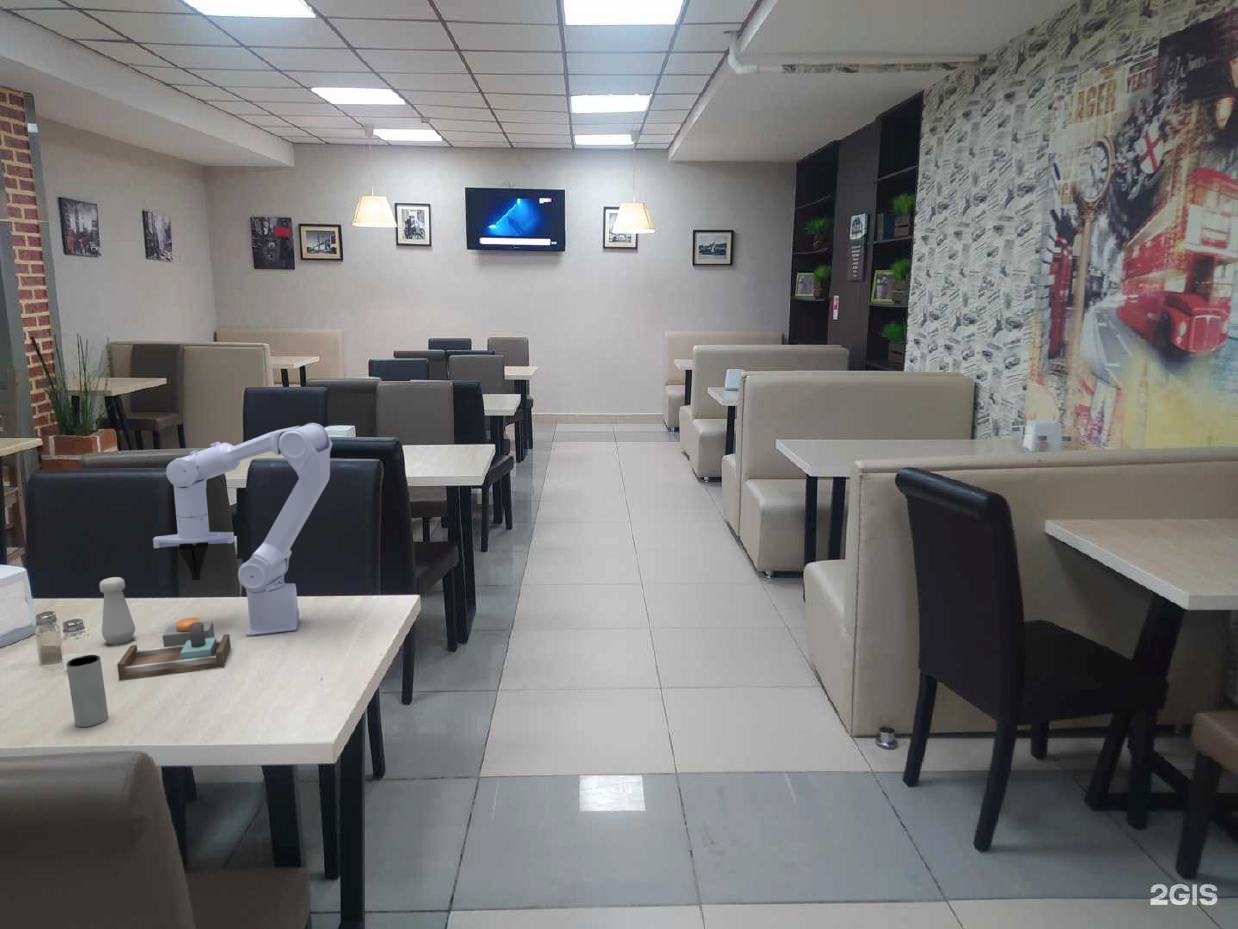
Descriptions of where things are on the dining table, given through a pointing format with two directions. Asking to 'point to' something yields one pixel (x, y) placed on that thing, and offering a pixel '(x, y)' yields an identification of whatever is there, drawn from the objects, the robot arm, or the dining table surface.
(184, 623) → the button
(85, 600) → the dining table surface
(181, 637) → the grey rectangular block
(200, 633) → the blue block with peg
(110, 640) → the salt shaker
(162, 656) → the rail board
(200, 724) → the dining table surface
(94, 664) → the planter
